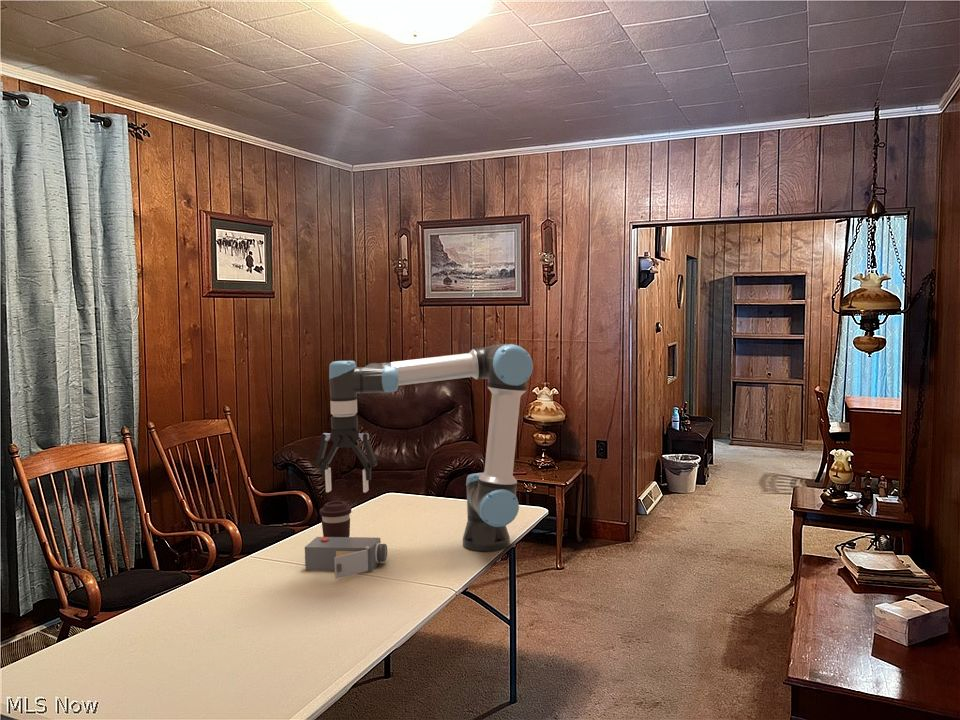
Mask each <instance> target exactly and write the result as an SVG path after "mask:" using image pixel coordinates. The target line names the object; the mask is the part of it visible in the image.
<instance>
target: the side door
mask: <svg viewBox="0 0 960 720" xmlns="http://www.w3.org/2000/svg"><path fill="white" fill-rule="evenodd" d="M334 560H335V571H334V578H335V580H337V579H342V578H346V577H350V576H352V575H356V574H360V573H366V572H365V571H368V550H362V551H358V552H354V553H350V554H346V555H341V556H337V557H334Z"/></svg>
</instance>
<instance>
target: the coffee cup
mask: <svg viewBox="0 0 960 720" xmlns="http://www.w3.org/2000/svg"><path fill="white" fill-rule="evenodd" d="M351 513H352V506H351V505H348V504H347V502H346V501H342V500H341V501H340V500H334V501H329V502H328V501H327V502H326V503H325V504H324V505H323V507H321V508H320V509H319V515H320V517H321V527H322V528H321V530H322V537H351V536H350V532H351V531H350V530H351V527H350V526H351V517H350V515H351Z"/></svg>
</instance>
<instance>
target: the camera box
mask: <svg viewBox="0 0 960 720" xmlns="http://www.w3.org/2000/svg"><path fill="white" fill-rule="evenodd" d="M381 542H382V541H381V537H370V536H369V537H365V536H364V537H361V536H360V537H357V536H355V537H353V536H349V537H323V536H316V537H315V538H313V539H312V540H311V541H310V542H309V543H307V545H305V546H304V562H305V571H307V572H308V571H310V572H311V571H314V572H317V571H318V572H335V560H334V557H337V556H341V555H346V554H350V553H354V552H358V551H362V550H368V571H365V572H364V573H372V572H373V571H374V569H376V568H377V566H379V564H380V563H385V562H387V558H388V545H387V544H386V543H381Z"/></svg>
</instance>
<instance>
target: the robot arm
mask: <svg viewBox="0 0 960 720" xmlns="http://www.w3.org/2000/svg"><path fill="white" fill-rule="evenodd" d="M533 368H534V363H533V359H532V356H531V355H530V352H528V351H527V350H526V349H524V348H523V347H522V346H520V345H518V344H513V343H510V344H508V343H497V344H492V345H490V346H485V347H479V348H473V349H471V350H470V351H469V352H467V353H458V354H449V355H440V356H432V357H430V356H429V357H423V358H414V359H407V360H406V359H405V360H397V361H391V362H380V363H377V362H373V363H369V364H367V365H366V366H364V367H361V366H360V367H359V366H357V364H356V362H355V360H337V361H336V360H335V361H332V362H331V363H329V369H328V372H329V373H328V374H329V376H328V377H329V379H328V380H329V396H330V398H329V400H330V415H332V416H331V417H330V423H331V424H330V427H331V432H330V433H328V432H323V433H322V434H320V446H319V448H318V452H317V456H316V461H315V462H314V466H315V468H319V469H321V480H322V481H325V493H330V492H331V491H332V489H333V488H332V470H331V469H332V468H331V467H329V465H330V464H331V462H332V460H333V458H334V457H335V455H336V454H337V451H338V449H341V448H347V449H350V448H351V450H352V451H353V452H354V453H355V455H356V457H357V458H358V459H359V461H360V463H361V464H362V465H363V467H364V468H363V469H362V491H363V493H367V492H368V491H369V490H370V488H369V481H371V480H372V468H375V467H377V465H378V461H377V458H376V456H375V452H374V449H373V447H372V444H371V441H370V433H369V431H368V432H361V433H360V431H359V417H358V415H357V413H358V396H357V395H358V394H372V393H373V394H374V393H391V392H392V393H393V392H397V391H398V389H399V387H400V386H406V385H415V384H422V383H430V382H439V381H440V382H441V381H447V380H448V381H449V380H457V379H464V378H465V379H466V378H473V379H475V380H482V379H483V380H486V379H487V389H488V390H489V391H490V393H491V400H490V412H489V419H488V420H489V421H488V432H487V440H486V441H487V442H486V452H485V461H484V470H483V472H477V473H471V474H468V475H467V477H466V481H465V482H466V483H465V486H466V506H467V507H466V509H467V510H466V512H467V513H466V514H467V520H466V521H467V522H466V526H465V528H464V529H465V530H464V532H463V537H462V546H463V548H464V549H467V550H469V551H470V550H471V551H475V552H495V551H499V550H504V549H506V548H507V547H509V546H510V545H511V537H510V534H509V530H508V527H507V526H508V525H510V524H511V523H512V522H514V520H515V519H516V517H517V516H518V514H519V508H520V504H519V503H520V502H519V500H518V497H517V486H518V480H517V479H516V477H515V476H514V475H513V474H514V468H515V467H514V465H515V455H516V445H517V434H518V426H519V425H518V424H519V414H520V404H521V397H522V395H523V394H525V393H526V392H527V385H528V384H527V383H528V380H529V379H530V377H531V375H532V373H533V370H534V369H533ZM330 438H331V440H332V441H333V444H332V445H331V448H330V450H329V452H328V454H327V455H326V458H325V454H326V451H327V446H328V442H329V440H330ZM359 439H360V440H361V441H362V443H363V447H364V449H365V452H366V454H365V453H364V451H363V450H362V449H361V447H360V443H359V442H358V440H359ZM324 458H325V459H324ZM323 460H324V461H323Z"/></svg>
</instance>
